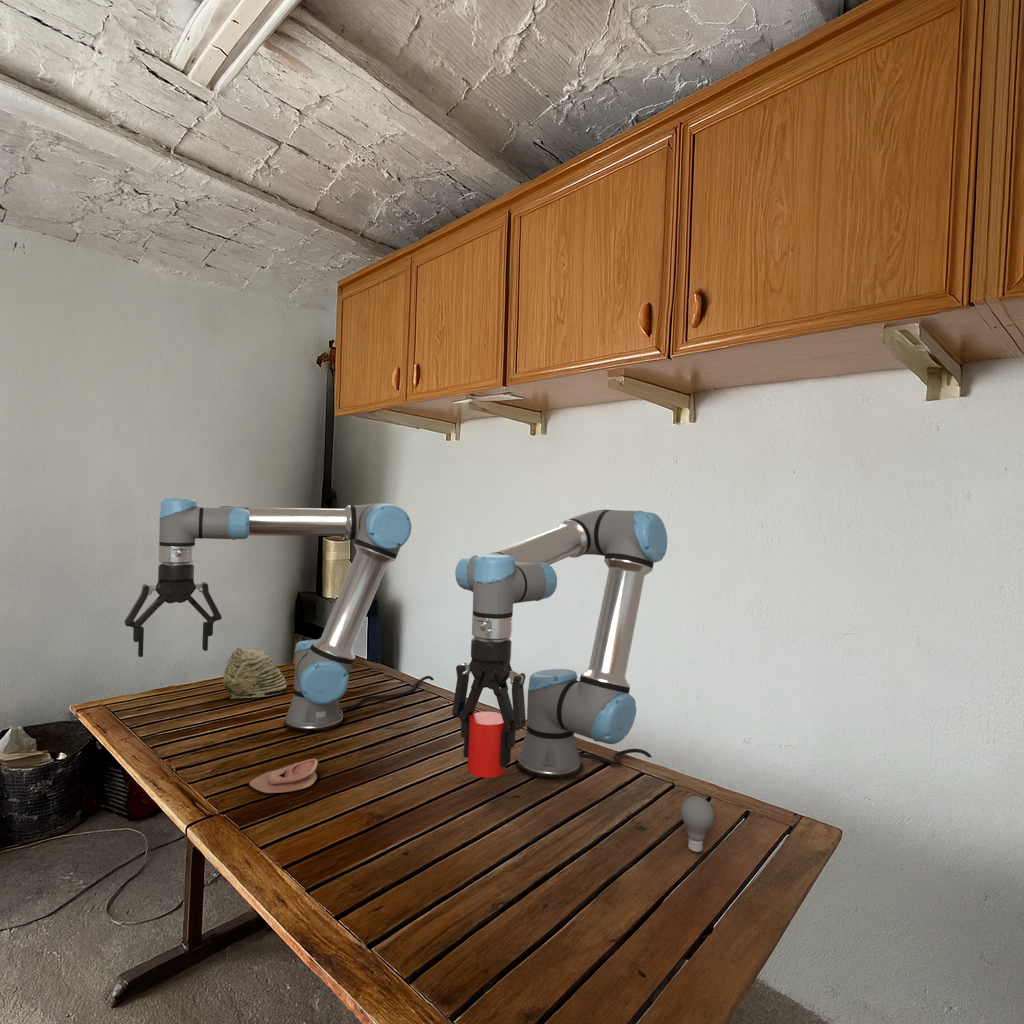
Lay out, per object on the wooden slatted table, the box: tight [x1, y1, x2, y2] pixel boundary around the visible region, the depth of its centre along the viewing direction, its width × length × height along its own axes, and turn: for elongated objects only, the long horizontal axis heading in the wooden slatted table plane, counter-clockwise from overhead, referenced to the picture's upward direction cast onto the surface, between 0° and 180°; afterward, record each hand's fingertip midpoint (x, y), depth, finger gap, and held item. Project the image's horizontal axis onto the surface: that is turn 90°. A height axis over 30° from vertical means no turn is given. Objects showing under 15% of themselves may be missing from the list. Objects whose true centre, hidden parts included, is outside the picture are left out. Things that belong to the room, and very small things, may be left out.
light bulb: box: [680, 795, 715, 853], centre depth 119 cm, size 6×6×10 cm
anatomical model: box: [248, 758, 319, 794], centre depth 139 cm, size 13×4×12 cm
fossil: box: [222, 646, 288, 699], centre depth 198 cm, size 9×18×15 cm, turn 132°
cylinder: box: [467, 711, 506, 779], centre depth 118 cm, size 7×7×10 cm
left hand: (173, 652), depth 150 cm, fingers open, 13 cm apart
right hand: (486, 759), depth 119 cm, fingers closed on cylinder, 7 cm apart
